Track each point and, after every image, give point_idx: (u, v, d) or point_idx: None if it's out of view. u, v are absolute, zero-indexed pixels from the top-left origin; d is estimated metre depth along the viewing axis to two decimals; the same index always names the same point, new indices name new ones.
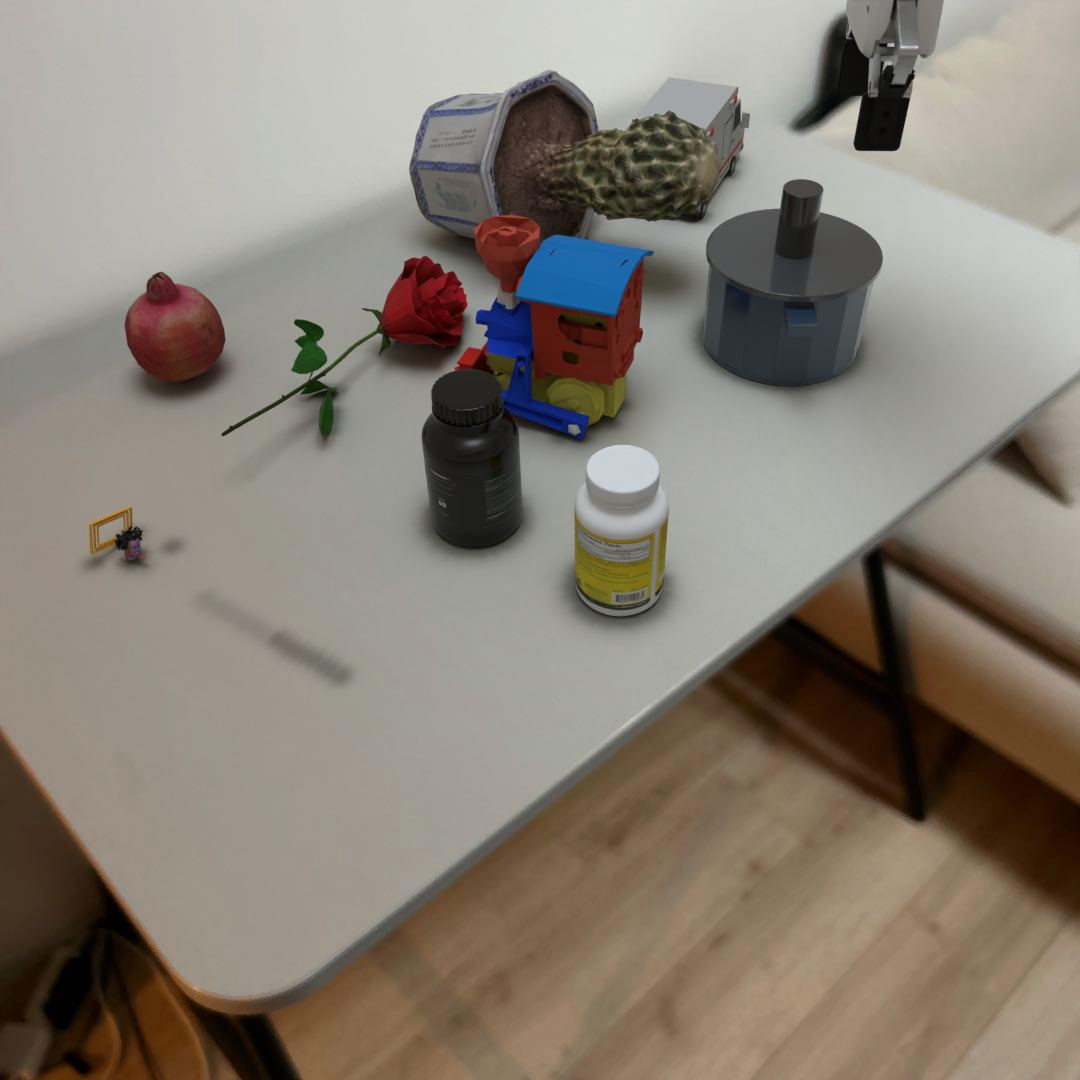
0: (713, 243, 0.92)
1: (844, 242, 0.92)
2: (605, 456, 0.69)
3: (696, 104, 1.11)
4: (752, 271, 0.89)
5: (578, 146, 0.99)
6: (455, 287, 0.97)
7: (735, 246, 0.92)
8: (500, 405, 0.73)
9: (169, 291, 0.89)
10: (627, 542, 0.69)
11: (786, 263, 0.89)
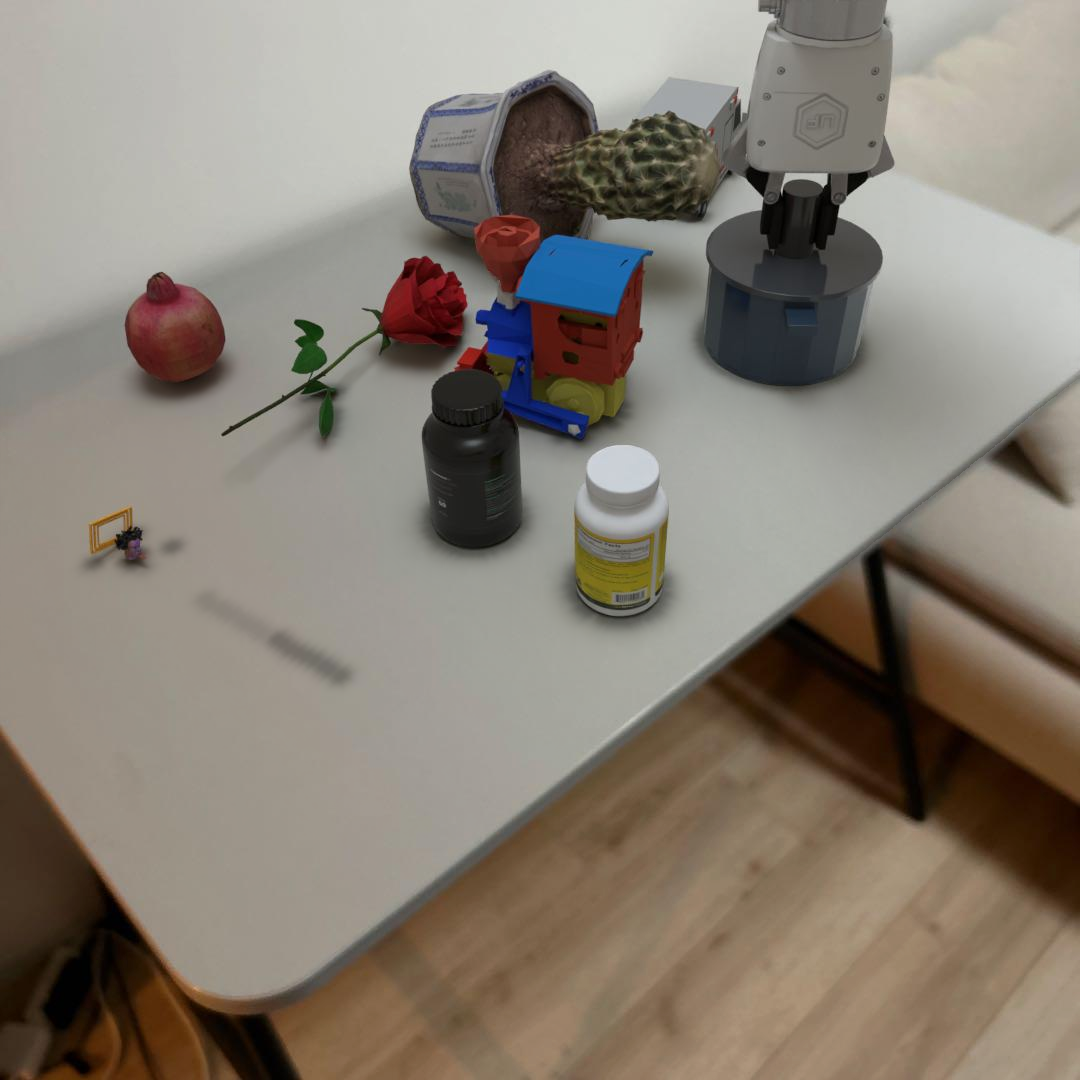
0: (713, 243, 0.92)
1: (844, 242, 0.92)
2: (605, 456, 0.69)
3: (696, 104, 1.11)
4: (752, 271, 0.89)
5: (578, 146, 0.99)
6: (455, 287, 0.97)
7: (735, 246, 0.92)
8: (500, 405, 0.73)
9: (169, 291, 0.89)
10: (627, 542, 0.69)
11: (786, 263, 0.89)
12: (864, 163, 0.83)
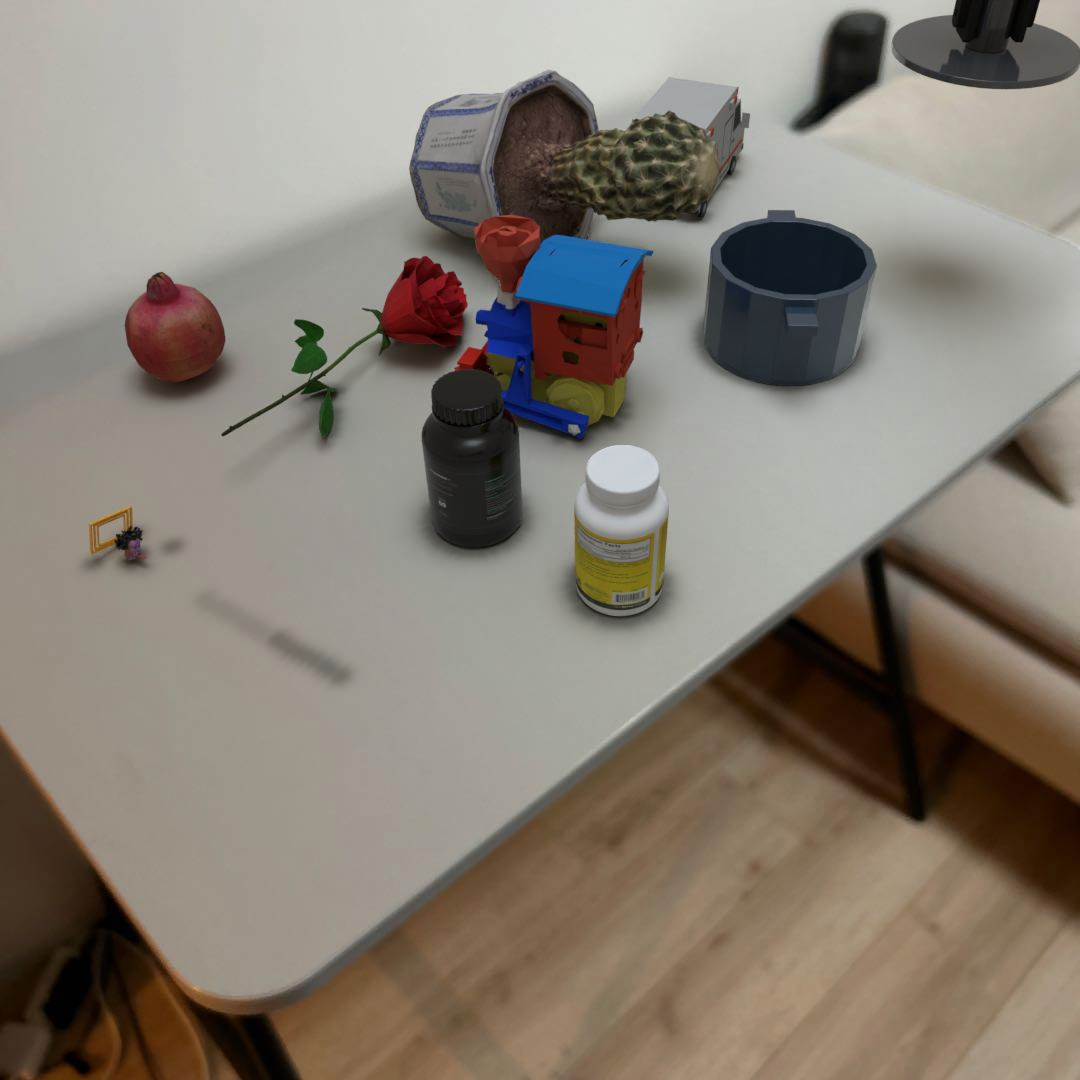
0: (899, 42, 0.88)
1: (1037, 39, 0.88)
2: (605, 456, 0.69)
3: (696, 104, 1.11)
4: (948, 63, 0.85)
5: (578, 146, 0.99)
6: (455, 287, 0.97)
7: (924, 44, 0.88)
8: (500, 405, 0.73)
9: (169, 291, 0.89)
10: (627, 542, 0.69)
11: (981, 56, 0.86)
12: None
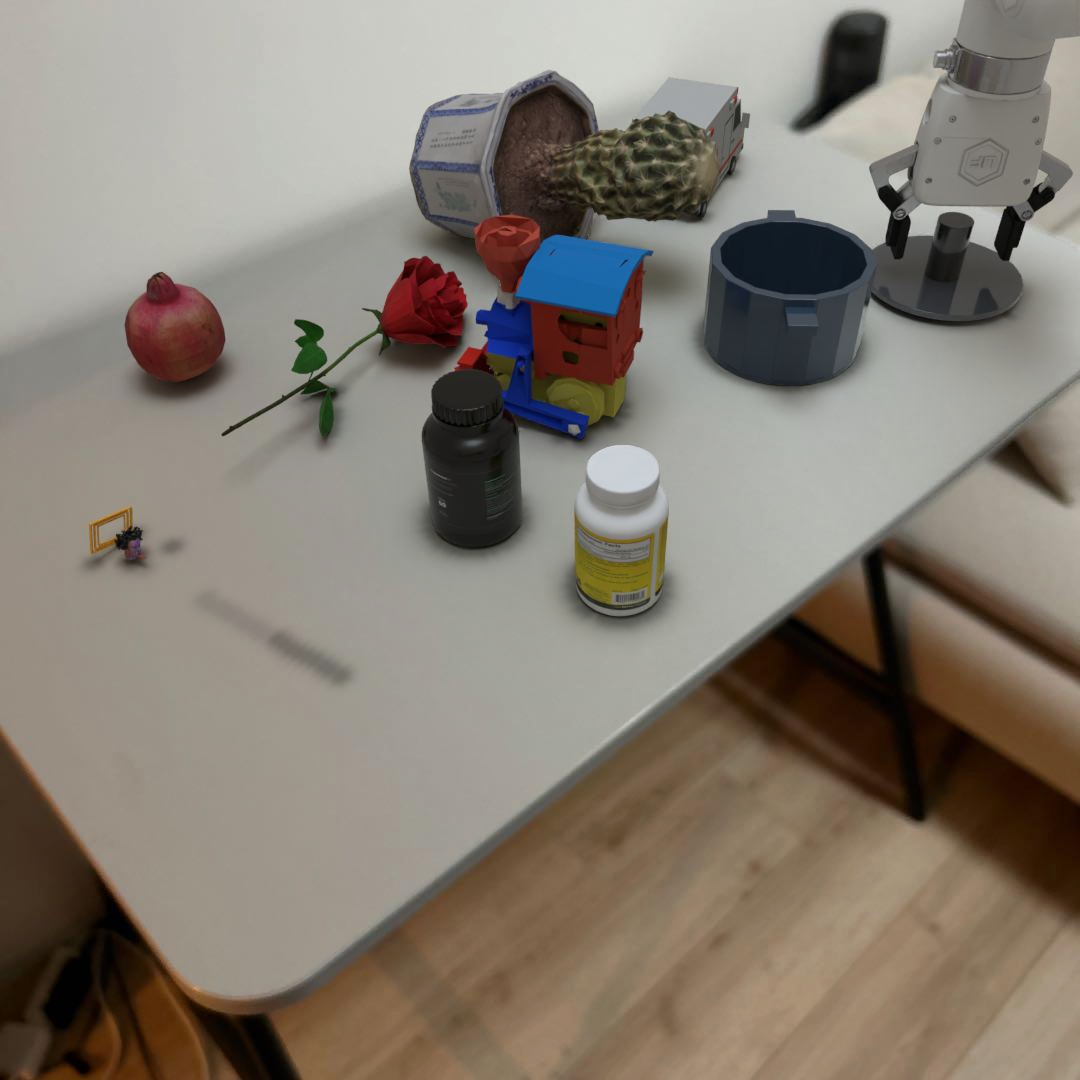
0: None
1: (986, 266, 1.03)
2: (605, 456, 0.69)
3: (696, 104, 1.11)
4: (909, 293, 1.00)
5: (578, 146, 0.99)
6: (455, 287, 0.97)
7: (889, 270, 1.03)
8: (500, 405, 0.73)
9: (169, 291, 0.89)
10: (627, 542, 0.69)
11: (938, 286, 1.01)
12: (1018, 198, 0.94)
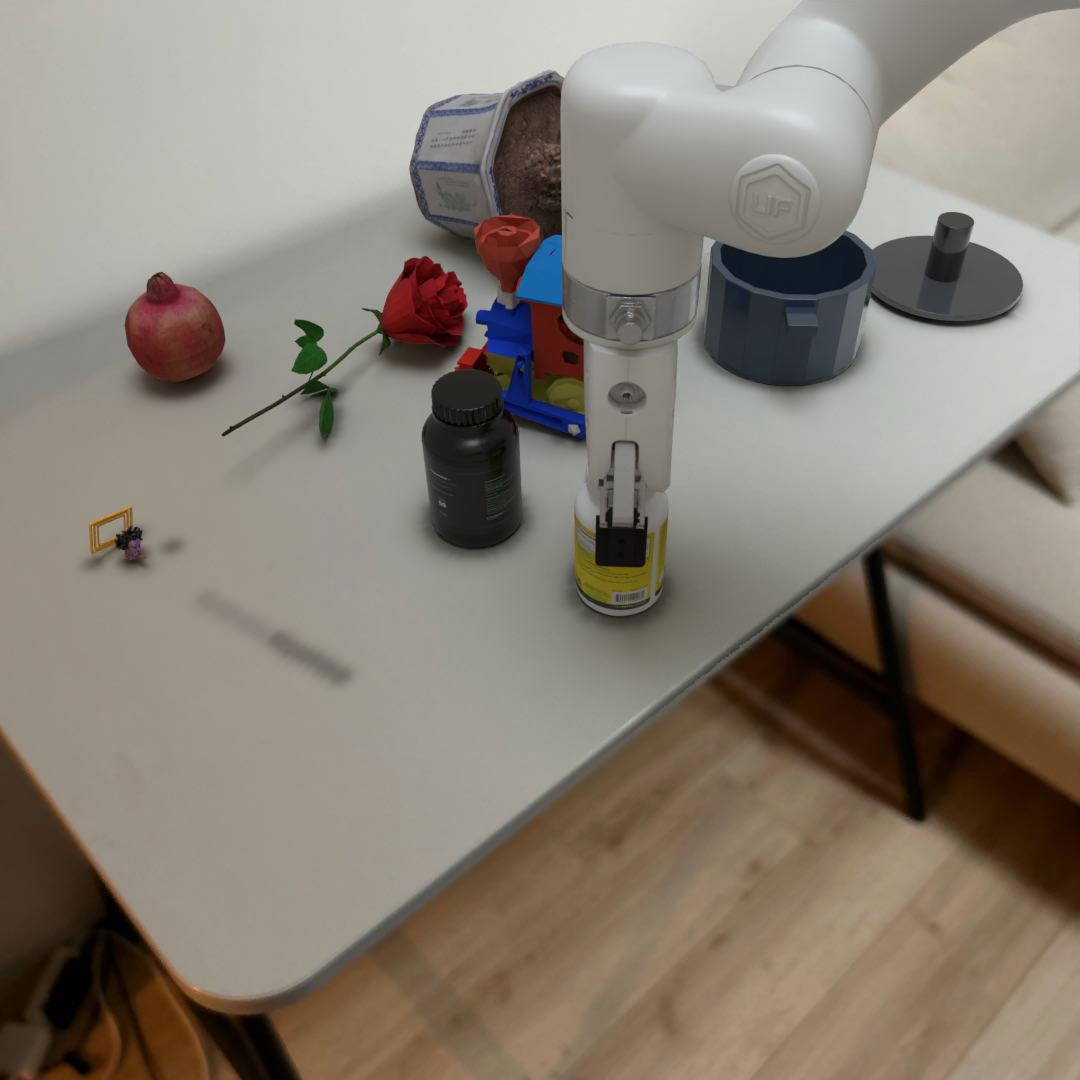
0: None
1: (986, 266, 1.03)
2: None
3: None
4: (909, 293, 1.00)
5: None
6: (455, 287, 0.97)
7: (889, 270, 1.03)
8: (500, 405, 0.73)
9: (169, 291, 0.89)
10: None
11: (938, 286, 1.01)
12: None
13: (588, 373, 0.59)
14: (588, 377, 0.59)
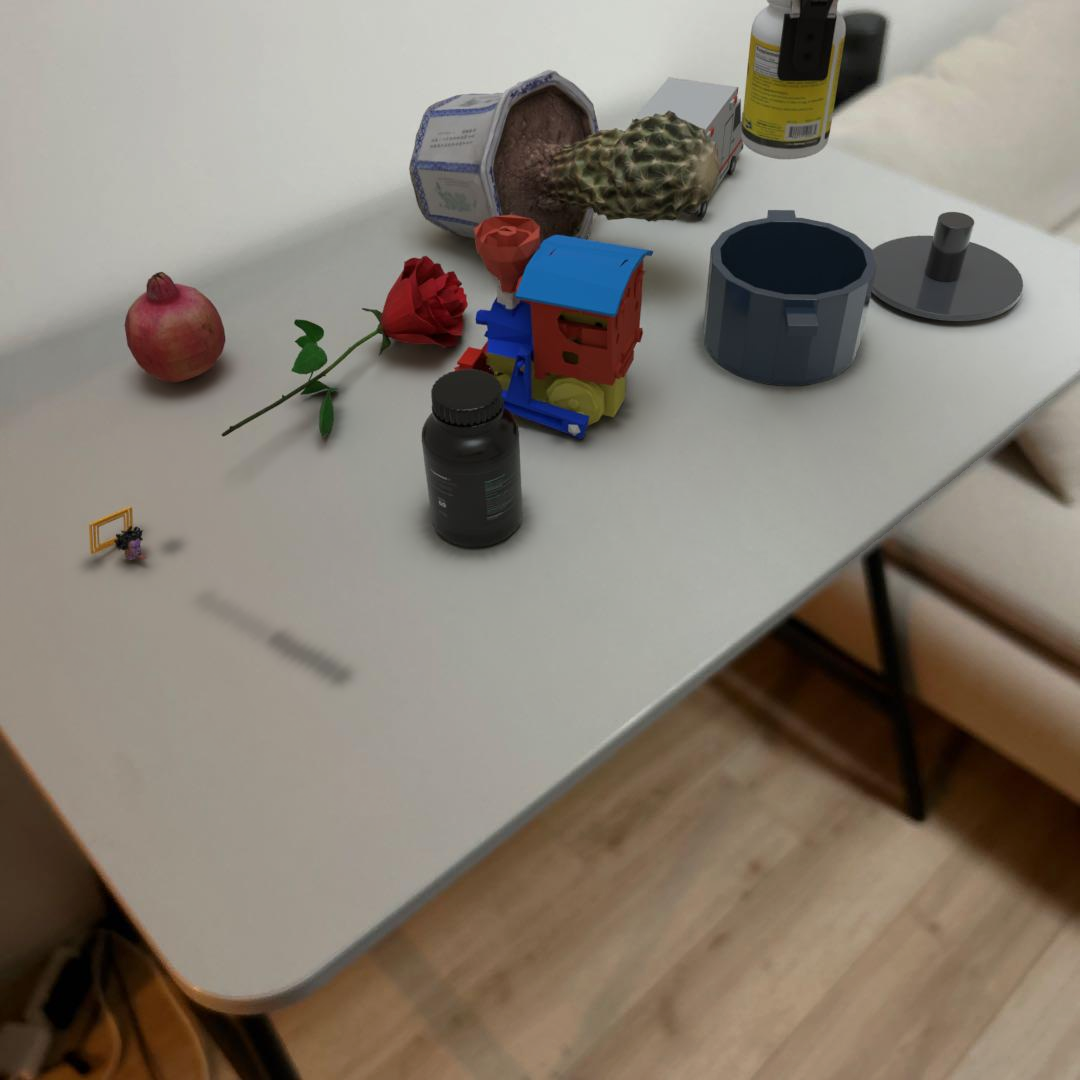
0: None
1: (986, 266, 1.03)
2: None
3: (696, 104, 1.11)
4: (909, 293, 1.00)
5: (578, 146, 0.99)
6: (455, 287, 0.97)
7: (889, 270, 1.03)
8: (500, 405, 0.73)
9: (169, 291, 0.89)
10: None
11: (938, 286, 1.01)
12: None
13: None
14: None
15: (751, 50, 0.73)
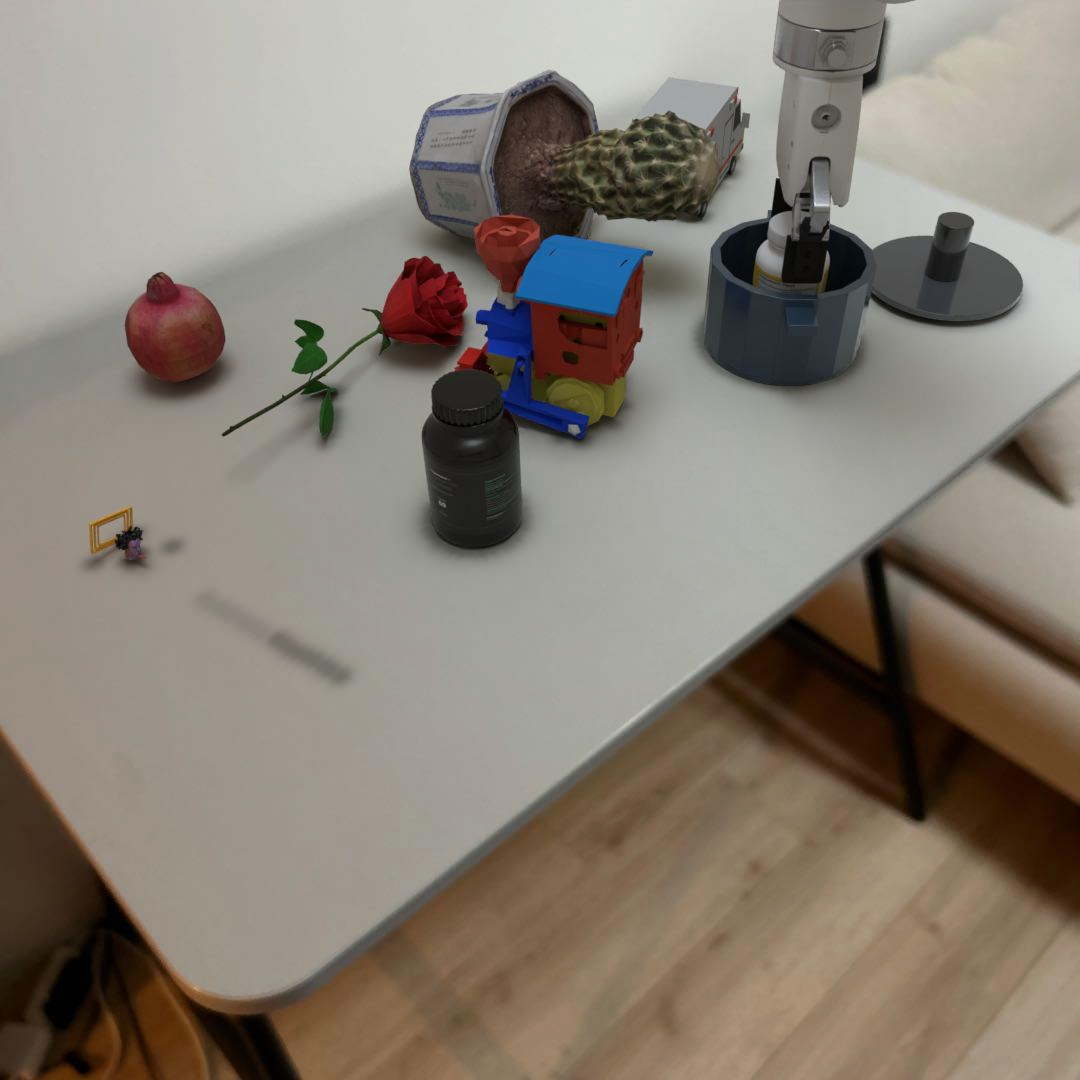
0: None
1: (986, 266, 1.03)
2: (782, 217, 0.90)
3: (696, 104, 1.11)
4: (909, 293, 1.00)
5: (578, 146, 0.99)
6: (455, 287, 0.97)
7: (889, 270, 1.03)
8: (500, 405, 0.73)
9: (169, 291, 0.89)
10: None
11: (938, 286, 1.01)
12: None
13: (796, 101, 0.79)
14: (795, 105, 0.79)
15: (755, 274, 0.92)
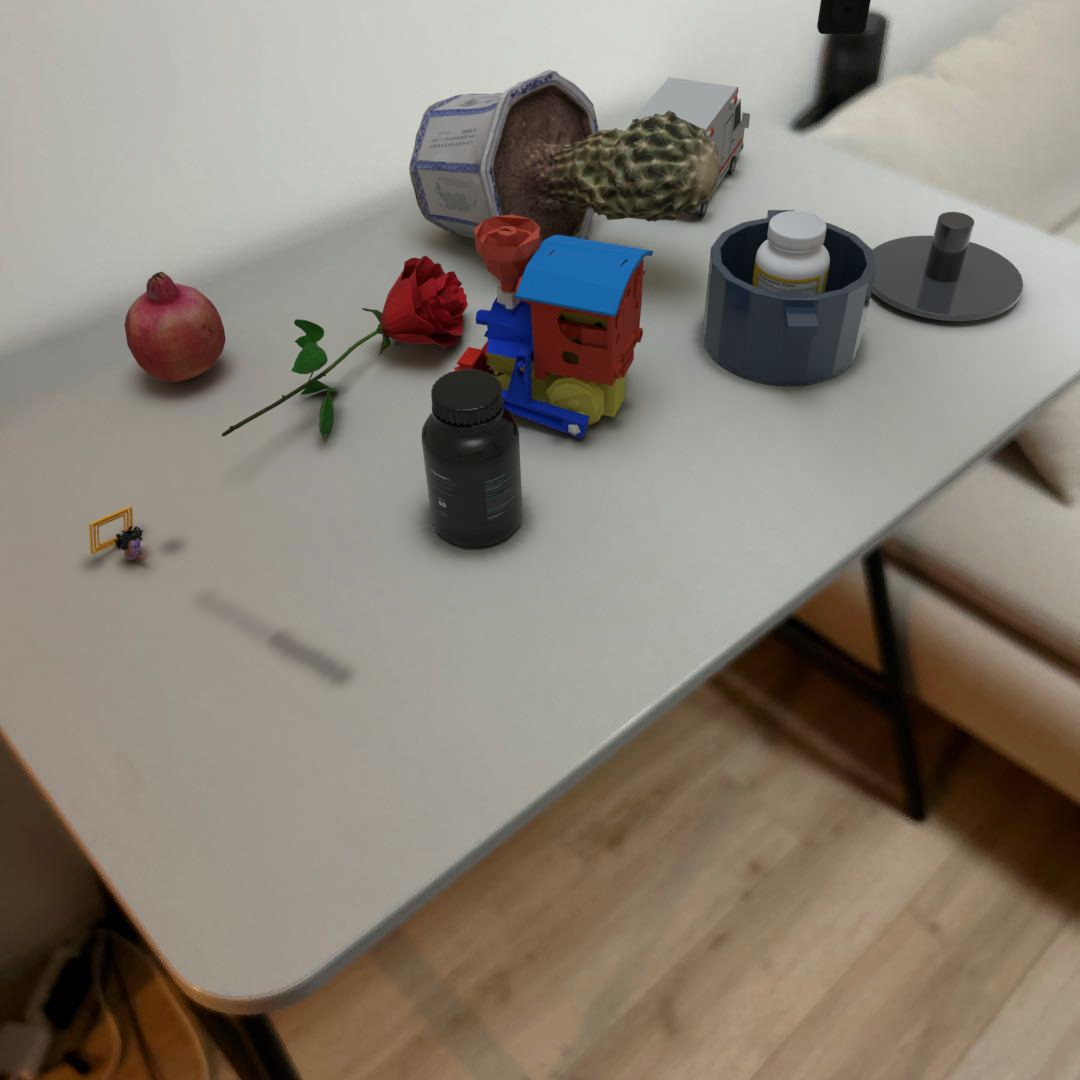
0: None
1: (986, 266, 1.03)
2: (782, 217, 0.90)
3: (696, 104, 1.11)
4: (909, 293, 1.00)
5: (578, 146, 0.99)
6: (455, 287, 0.97)
7: (889, 270, 1.03)
8: (500, 405, 0.73)
9: (169, 291, 0.89)
10: (800, 282, 0.90)
11: (938, 286, 1.01)
12: None
13: None
14: None
15: (755, 274, 0.92)
